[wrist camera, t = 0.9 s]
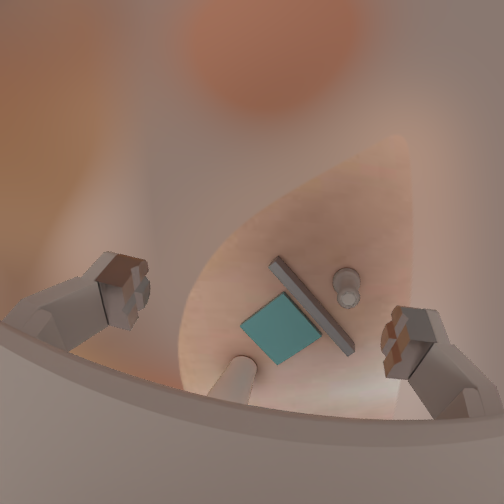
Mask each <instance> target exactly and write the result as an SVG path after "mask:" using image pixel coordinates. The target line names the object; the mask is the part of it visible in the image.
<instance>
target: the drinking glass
mask: <svg viewBox="0 0 504 504" xmlns="http://www.w3.org/2000/svg"><path fill="white" fill-rule="evenodd" d="M256 373H257V366H256V364H255V362H254V361H253V360H252V359H250V358H248V357H245V356H237V357H235V358H233V359H232V360H231V362H230V363H229V365H228V367H227V368H226V369H225V371H224V372H223V374H222V375H221V376H220V378H219V379H218V380H217V382H216V383H215V384H214V386H213V387H212V388H211V390H210V391H209V393H208V394H207V396H208V397H212V398H217V399H221V400H226V401H231V402H236V403H241V404H246V405H248V402H249V398H250V394H251V390H252V386H253V382H254V379H255V376H256Z"/></svg>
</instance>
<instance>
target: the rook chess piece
mask: <svg viewBox="0 0 504 504" xmlns="http://www.w3.org/2000/svg"><path fill="white" fill-rule="evenodd" d="M333 287H334V289H335V291H336V292H337V293H338V295H337V301H338V303H339V304H340V305H341V306H342V307H344V308H346V309H350V308H352V307H355V306H356V305H357V304H358V302H359V301H360V294H359V291H358V289H359V287H360V277H359V274H358V273H357V272H356V271H355V270H353V269H351V268H344V269H341V270H339V271H338V272H337V273H336V274H335V275H334V277H333Z"/></svg>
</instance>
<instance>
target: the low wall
mask: <svg viewBox="0 0 504 504" xmlns="http://www.w3.org/2000/svg"><path fill="white" fill-rule="evenodd" d="M268 268H269V269H270V270H271V271H272V272H273V274H274V275H275V276H276V277H277V278H278V279H279V280H280V281H281V283H282V284H283V285H284V286H285V287H286V288H287V289H288V290H289V291H290V293H291V294H292V295H293V296H294V297H295V298H296V299H297V300H298V302H299V303H300V304H301V305H302V306H303V307H304V308H305V309H306V311H307V312H308V313H309V314H310V315H311V316H312V317H313V318H314V320H315V321H316V322H317V323H318V324H319V325H320V326H321V327H322V328H323V330H324V331H325V332H326V333H327V334H328V335H329V336H330V337H331V339H332V340H333V341H334V342H335V343H336V344H337V345H338V346H339V348H340V349H341V350H342V351H343V352H344V353H345V354H346V355H347V357H348V356H349V355H351V354H353V353H354V352H355V347H354V342H353V341H352V340H351V339H350V337H349V336H348V335H347V334H346V333H345V332H344V330H343V329H342V328H341V327H340V326H339V325H338V323H337V322H336V321H335V320H334V319H333V318H332V317H331V315H330V314H329V313H328V312H327V311H326V310H325V308H324V307H323V306H322V305H321V304H320V303H319V302H318V300H317V299H316V298H315V297H314V296H313V295H312V294H311V292H310V291H309V290H308V289H307V288H306V287H305V286H304V284H303V283H302V282H301V281H300V280H299V279H298V278H297V276H296V275H295V274H294V273H293V272H292V271H291V270H290V269H289V267H288V266H287V265H286V264H285V263H284V262H283V261H282V259H281V258H280V257H279V256H278V257H276V258H275V259H274V260H273V261H272V262H271V263H270V265H269V266H268Z"/></svg>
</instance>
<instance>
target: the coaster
mask: <svg viewBox="0 0 504 504" xmlns="http://www.w3.org/2000/svg"><path fill="white" fill-rule="evenodd" d="M240 327H241V328H242V329H243V330H244V331H245V332H246V334H247V335H248V336H249V337H250V338H251V339H252V340H253V341H254V342H255V343H256V344H257V345H258V346H259V347H260V348H261V349H262V350H263V351H264V352H265V353H266V354H267V355H268V356H269V357H270V358H271V359H272V360H273V361H274V362H275V363H276V364H277V365H278V364H280V363H282V362H283V361H285V360H286V359H288V358H290V357H291V356H293V355H294V354H296V353H297V352H299V351H300V350H302V349H304V348H305V347H307V346H308V345H310V344H311V343H313V342H314V341H316V340H317V339H319V338H320V337H322V333H321V332H320V331H319V330H318V329H317V328H316V326H315V325H314V324H313V323H312V322H311V321H310V320H309V319H308V317H307V316H306V315H305V314H304V313H303V312H302V311H301V310H300V309H299V307H298V306H297V305H296V304H295V303H294V302H293V301H292V300H291V299H290V297H289V296H288V295H287V294H286V293H285V292H284V291H283V292H282V293H281V294H279V295H278V296H277V297H276V298H274V299H273V300H272V301H270V302H269V303H268V304H266V305H265V306H264V307H263V308H261V309H260V310H259V311H257V312H256V313H255V314H253V315H252V316H251V317H249V318H248V319H247V320H245V321H244V322H243V323H241V325H240Z"/></svg>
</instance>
